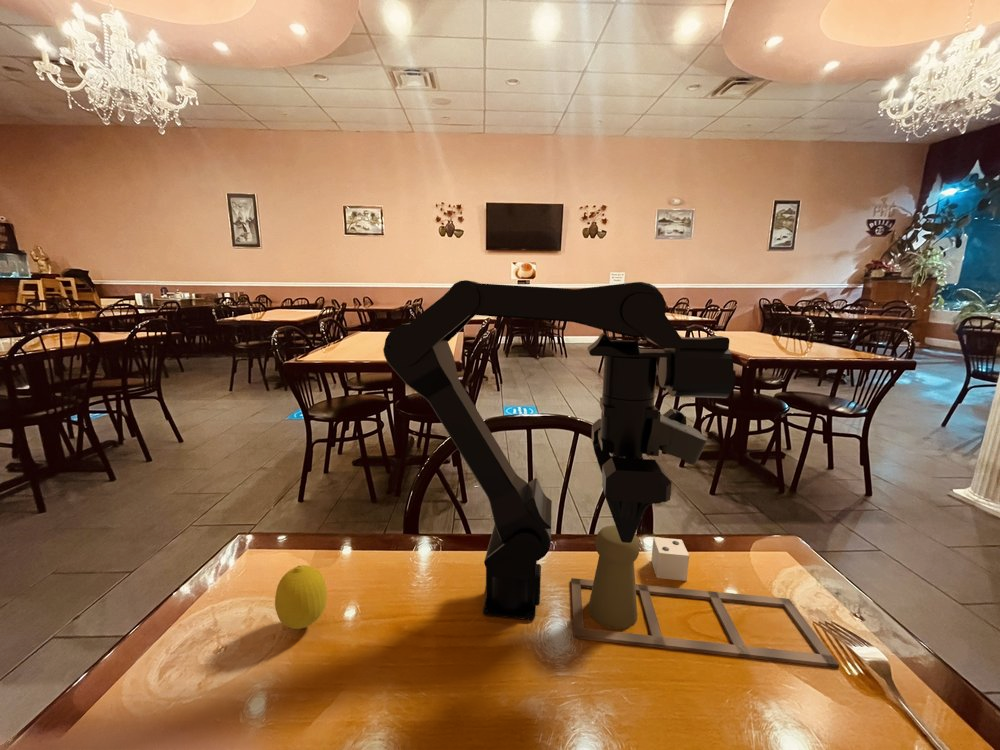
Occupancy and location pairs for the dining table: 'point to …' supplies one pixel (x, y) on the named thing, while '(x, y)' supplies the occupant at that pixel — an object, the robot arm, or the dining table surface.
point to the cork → (614, 581)
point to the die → (670, 558)
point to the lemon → (300, 597)
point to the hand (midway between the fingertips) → (620, 520)
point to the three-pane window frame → (732, 649)
